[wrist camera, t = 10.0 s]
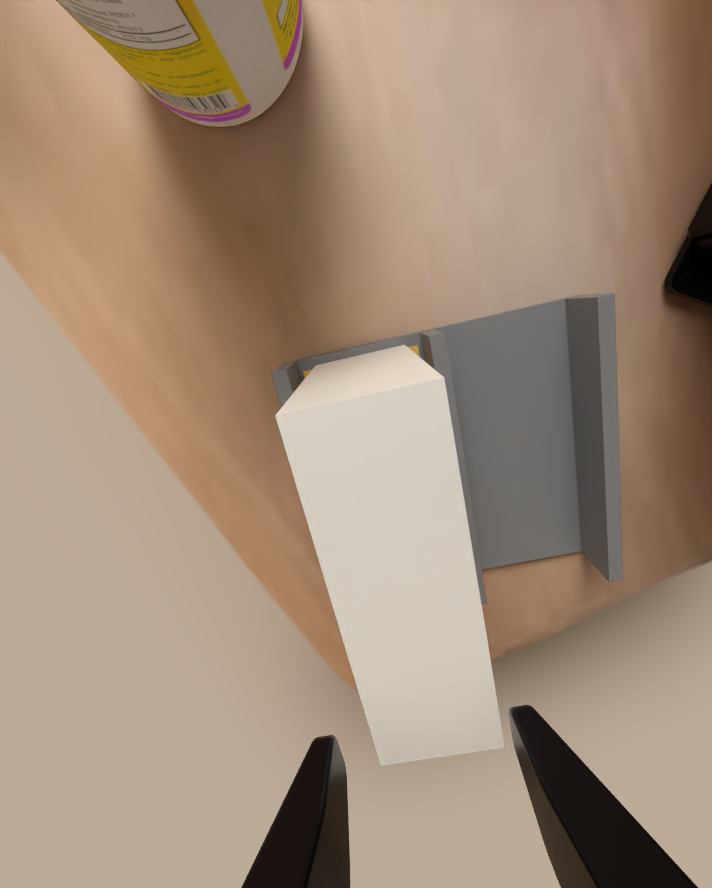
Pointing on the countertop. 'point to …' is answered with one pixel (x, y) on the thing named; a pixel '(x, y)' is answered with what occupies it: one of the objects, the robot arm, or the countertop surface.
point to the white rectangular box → (395, 550)
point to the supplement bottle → (201, 51)
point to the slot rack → (526, 427)
